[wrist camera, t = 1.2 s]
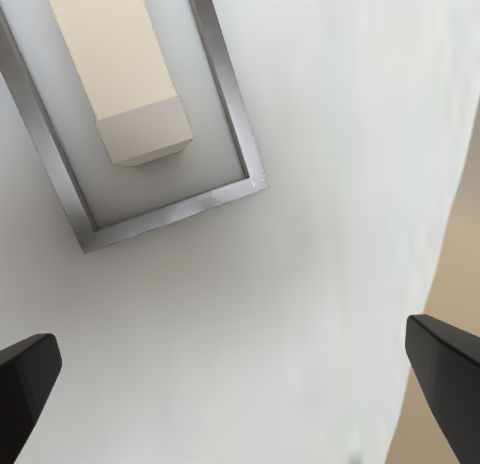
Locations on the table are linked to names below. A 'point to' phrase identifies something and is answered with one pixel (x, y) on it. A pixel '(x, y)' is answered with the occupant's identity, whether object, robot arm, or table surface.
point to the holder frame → (59, 171)
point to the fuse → (124, 78)
